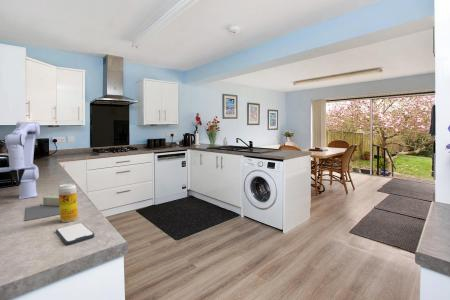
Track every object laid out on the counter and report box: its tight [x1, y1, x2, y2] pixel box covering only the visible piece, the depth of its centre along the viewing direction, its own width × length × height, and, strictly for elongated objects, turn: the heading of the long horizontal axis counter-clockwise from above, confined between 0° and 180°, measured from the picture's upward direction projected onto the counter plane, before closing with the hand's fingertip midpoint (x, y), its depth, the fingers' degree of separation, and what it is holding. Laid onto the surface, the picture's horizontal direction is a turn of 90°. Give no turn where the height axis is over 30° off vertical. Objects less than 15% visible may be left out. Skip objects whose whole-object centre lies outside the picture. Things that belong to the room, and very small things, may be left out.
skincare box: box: [42, 193, 60, 206], centre depth 117 cm, size 6×4×12 cm
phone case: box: [55, 222, 95, 246], centre depth 84 cm, size 9×2×16 cm
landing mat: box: [24, 204, 60, 222], centre depth 109 cm, size 20×15×1 cm
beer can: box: [58, 183, 79, 223], centre depth 97 cm, size 6×6×15 cm
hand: (18, 184), depth 117 cm, fingers closed
